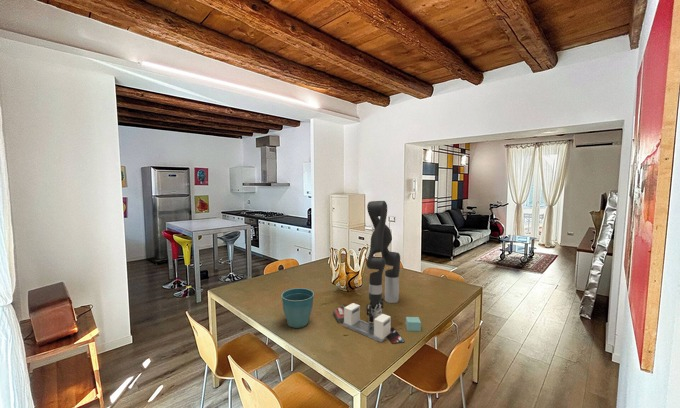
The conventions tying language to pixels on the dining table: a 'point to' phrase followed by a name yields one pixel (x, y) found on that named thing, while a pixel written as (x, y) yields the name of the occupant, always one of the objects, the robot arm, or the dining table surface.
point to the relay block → (413, 324)
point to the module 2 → (382, 326)
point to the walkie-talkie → (339, 314)
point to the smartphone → (395, 337)
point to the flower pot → (297, 306)
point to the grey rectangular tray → (365, 329)
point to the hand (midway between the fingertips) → (375, 319)
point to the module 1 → (351, 314)
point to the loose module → (376, 314)
